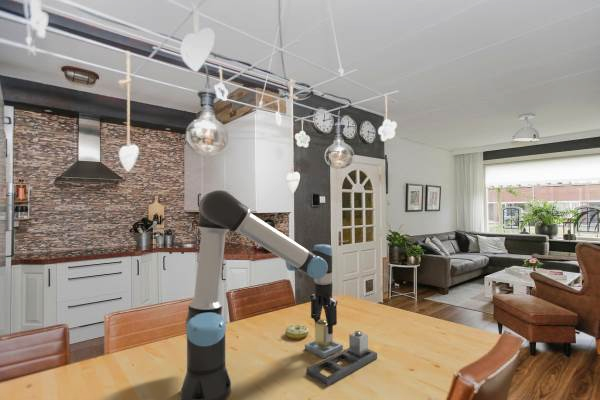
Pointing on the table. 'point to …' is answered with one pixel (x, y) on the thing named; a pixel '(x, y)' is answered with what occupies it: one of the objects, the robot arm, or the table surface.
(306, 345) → the parts tray
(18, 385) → the table surface
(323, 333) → the gold block with knob
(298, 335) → the decorated donut
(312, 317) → the robot arm
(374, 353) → the rail
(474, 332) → the table surface
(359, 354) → the grey knobbed block
